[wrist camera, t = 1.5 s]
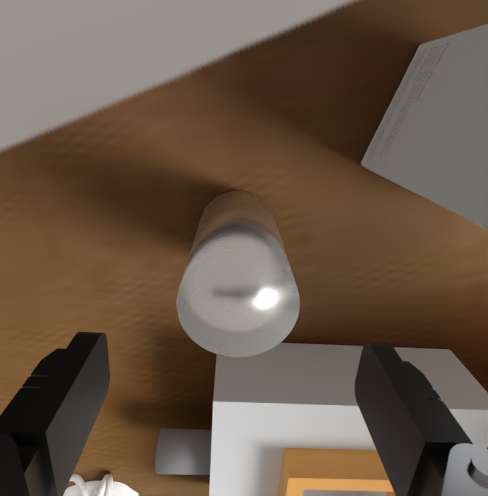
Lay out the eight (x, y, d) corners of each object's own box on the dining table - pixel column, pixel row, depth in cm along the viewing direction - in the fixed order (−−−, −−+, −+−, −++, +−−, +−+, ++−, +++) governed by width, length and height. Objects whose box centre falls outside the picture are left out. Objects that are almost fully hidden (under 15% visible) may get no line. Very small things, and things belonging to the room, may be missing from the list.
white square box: (449, 349, 28) (527, 438, 20) (402, 488, 34) (449, 597, 26) (164, 338, 27) (137, 427, 20) (167, 483, 33) (147, 594, 25)
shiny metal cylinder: (278, 193, 23) (307, 253, 14) (271, 264, 25) (292, 359, 16) (200, 188, 23) (175, 246, 14) (199, 260, 25) (176, 354, 15)
